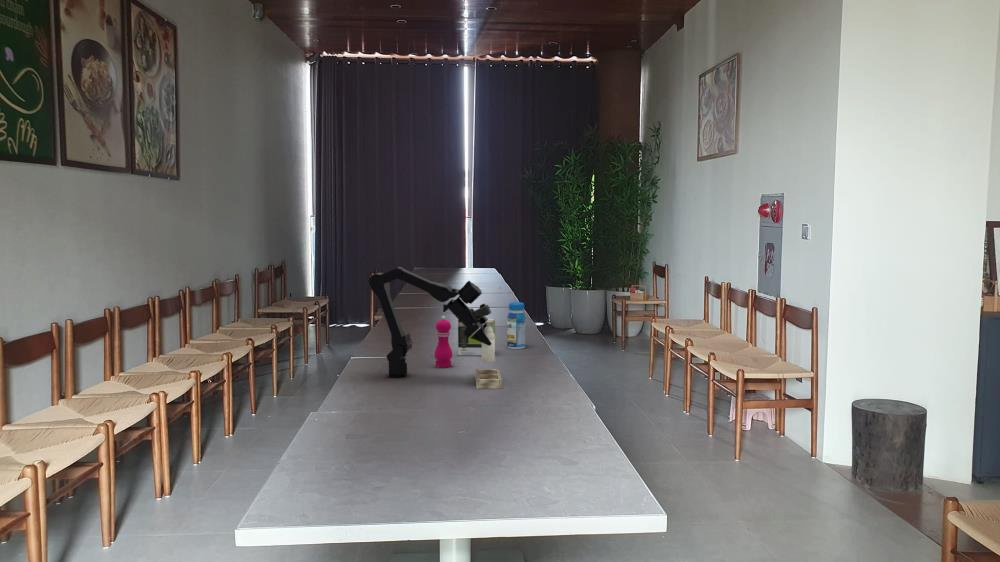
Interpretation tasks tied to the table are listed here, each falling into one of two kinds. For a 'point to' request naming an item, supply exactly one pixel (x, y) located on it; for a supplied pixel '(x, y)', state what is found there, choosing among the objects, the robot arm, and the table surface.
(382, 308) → the robot arm
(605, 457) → the table surface
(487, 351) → the white pawn figure
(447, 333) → the pepper mill
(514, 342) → the beverage bottle
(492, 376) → the divided wooden tray
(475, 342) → the tea box
